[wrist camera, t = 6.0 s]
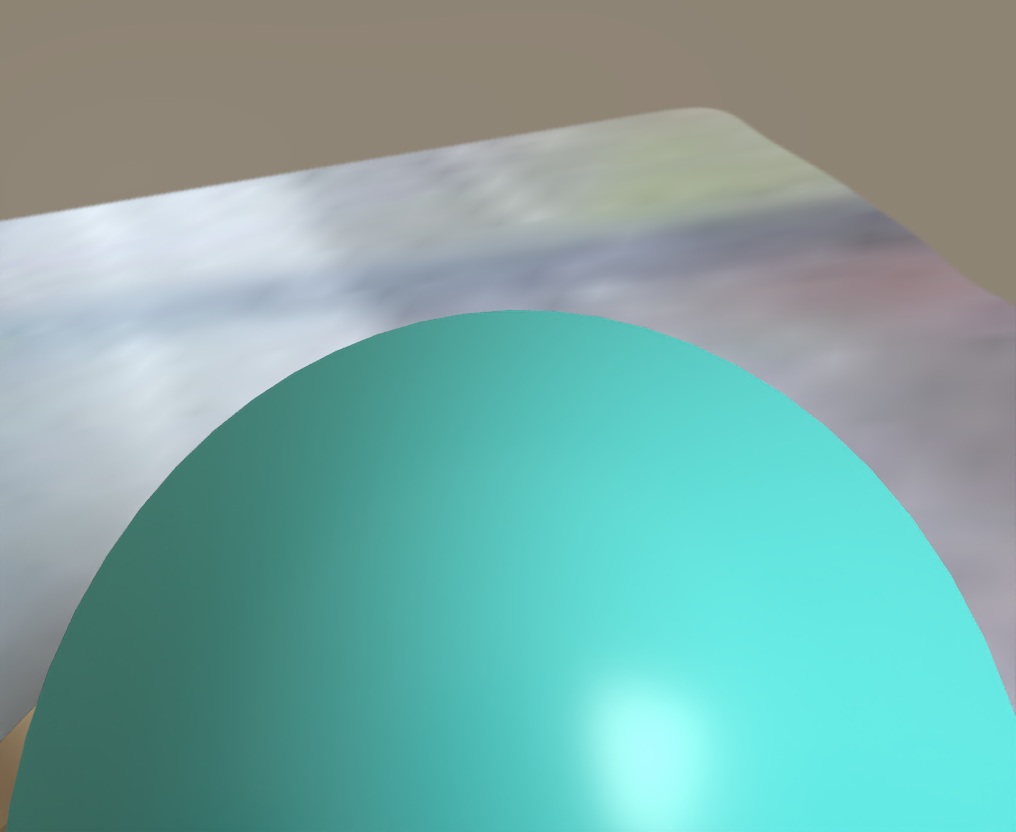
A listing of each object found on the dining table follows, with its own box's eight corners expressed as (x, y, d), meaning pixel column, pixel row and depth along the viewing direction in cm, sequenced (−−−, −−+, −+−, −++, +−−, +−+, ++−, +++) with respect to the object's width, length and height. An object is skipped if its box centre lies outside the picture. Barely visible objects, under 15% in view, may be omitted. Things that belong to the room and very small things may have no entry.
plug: (668, 833, 13) (1416, 1568, 1) (478, 850, 13) (-231, 1614, 2) (632, 631, 15) (811, 268, 3) (468, 648, 15) (135, 357, 4)
